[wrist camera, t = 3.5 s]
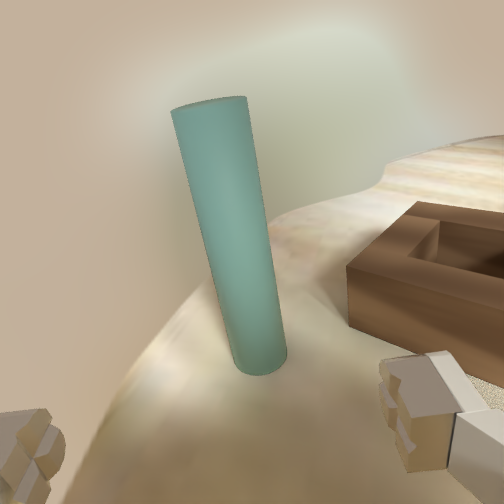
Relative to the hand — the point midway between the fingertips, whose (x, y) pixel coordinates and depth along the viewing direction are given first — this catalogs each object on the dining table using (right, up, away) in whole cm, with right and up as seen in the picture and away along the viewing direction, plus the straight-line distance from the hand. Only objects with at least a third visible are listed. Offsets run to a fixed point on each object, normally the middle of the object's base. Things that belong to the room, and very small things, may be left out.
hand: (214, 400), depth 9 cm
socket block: (+15, 0, +17) cm, 23 cm away
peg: (+1, -3, +16) cm, 16 cm away
